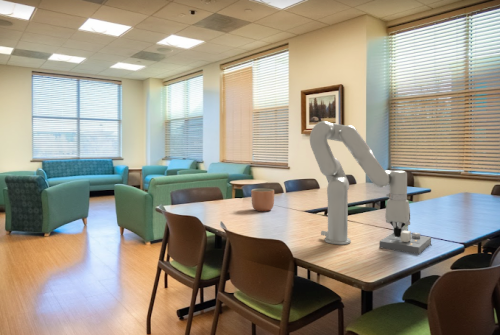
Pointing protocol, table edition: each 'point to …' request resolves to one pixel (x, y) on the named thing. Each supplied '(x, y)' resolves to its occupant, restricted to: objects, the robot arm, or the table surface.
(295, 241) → the table surface
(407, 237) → the fader tab
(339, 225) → the robot arm
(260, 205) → the planter
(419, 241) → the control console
